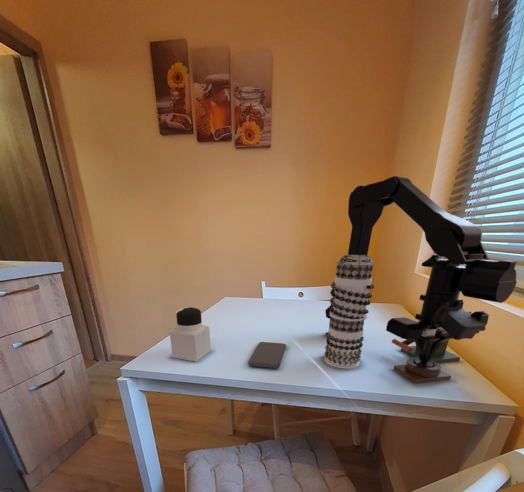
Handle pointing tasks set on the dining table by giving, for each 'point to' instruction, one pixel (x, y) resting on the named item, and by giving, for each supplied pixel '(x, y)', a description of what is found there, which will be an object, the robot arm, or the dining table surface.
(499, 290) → the robot arm
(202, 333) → the medicine bottle
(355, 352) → the decorative candle
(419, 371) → the button block
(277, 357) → the smartphone
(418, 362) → the button
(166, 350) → the dining table surface
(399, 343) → the lever
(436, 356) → the bracket
